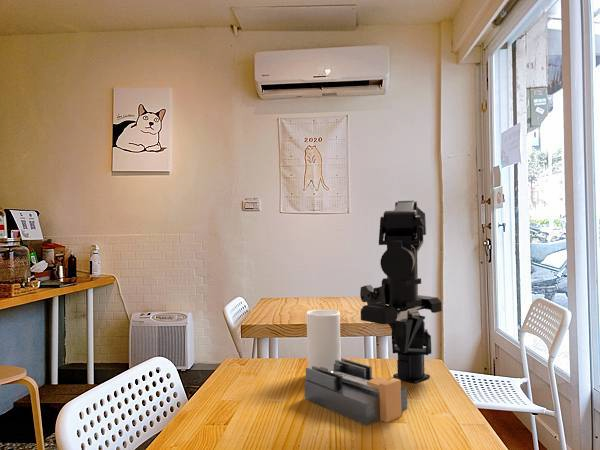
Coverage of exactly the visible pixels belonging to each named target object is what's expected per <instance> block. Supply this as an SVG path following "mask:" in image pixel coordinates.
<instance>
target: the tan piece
mask: <svg viewBox="0 0 600 450" xmlns="http://www.w3.org/2000/svg"><path fill="white" fill-rule="evenodd" d="M374 378H375V377H374ZM401 380H402V379H399V378H396V377H392V378H391V379H386V378H383V377H380V376H378V377H376V378H375V379H372V380H369V381H367V385H369V386H372V387H375V388H378V389H380V420H379V421H382V422H384V423H386V424H387V423H389V422H392V421H393V420H396V419H398V418H401V417H403V416H402V411H401V387H402V384H401V383H402V381H401Z"/></svg>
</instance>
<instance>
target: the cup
mask: <svg viewBox="0 0 600 450" xmlns="http://www.w3.org/2000/svg"><path fill="white" fill-rule="evenodd" d="M340 314H341V313H340V311H339V310H336V309H335V310H334V309H325V308H322V309H311V310H308V311H307V312H306V337H307V339H306V340H307V341H306V342H307V343H306V344H307V346H306V347H307V348H306V349H307V368H310V369H312V366H315V367H318V368H320V367H323V368H326V369H328V371H333V370H334V363H335V360H340V361H341V356H342V355H341V354H342V352H341V350H342V349H341V315H340Z"/></svg>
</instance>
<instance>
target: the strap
mask: <svg viewBox="0 0 600 450" xmlns="http://www.w3.org/2000/svg"><path fill="white" fill-rule="evenodd" d="M330 372H333V373H336V374H339V375H342V376H343V382H345V383H348V384H352V385H355V386H358V387H361V388H364V389H367V390H371V391H374V392H376V391H379V390H380V389H378V388H375V387H372V386H369V385H367V381H369V380H365V379H362V378H359V377H355V376H352V375H348V374H345V373H341V372H338V371H336V370H333V371H330Z"/></svg>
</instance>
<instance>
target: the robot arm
mask: <svg viewBox="0 0 600 450" xmlns="http://www.w3.org/2000/svg"><path fill="white" fill-rule="evenodd" d="M379 220H380V221H379V232H378V234H379V236H378V246H386V250H385V251H384V252H383V254H382V255H381V258H380V262H379V263H380V264H379V265H380V269H381V270H382V272H383V274H384V275H386V278H385V277H384V278H382V280H381V286H377V287H374V286H373V285H372V284H367V285H362V286H361V287H360V293H359V294H360V300H361V302H363V303H366V304H365V305H363V306H362V307H361V309H360V321H363V322H368V323H375V324H378V325H389V327H390V329H391V345H392V347H391V348H392V354H397V360H396V364H397V368H396V369H397V370H396V371H397V372H396V373H394V374H393V375H392V378H396V379H399V380H402V381H406V382H409V383H413V384H415V383H418V382H421V381H425V380H427V379H428V378H431V377H430V376H431V375H430V374H428V373H425V356H429V355H430V354H431V355H432V335H430V333H429V332H430V331H429V330H428V329H426V322H425V321H424V320H425V319H426V316H425V315H421V314H420V312H419V311H421V310H428V311H429V310H430V312H431V313H433V314H437V313H441V312H443V311H442V310H443V309H442V308H443V306H442V303H443V302H442V301H441V300H440V298H439V297H436V296H428V295H420V294H419V285H420V284H422V278H419V275H418V274H419V273H418V272H419V271H418V270H419V268H418V252H419V250H420V249H421V247H422V246H423V244H424V236H427V222H426V213H425V212H424V211H423V210H421V208H419V207H418V201H415V200H414V199H413V200H412V199H411V200H398V201H395V203H394V209H393V210H385V211H383V216H380V219H379Z"/></svg>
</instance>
